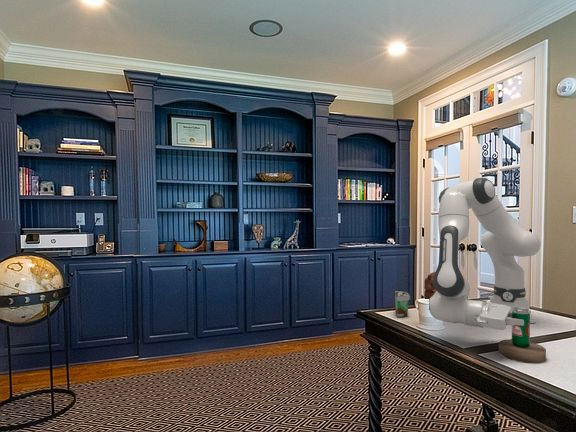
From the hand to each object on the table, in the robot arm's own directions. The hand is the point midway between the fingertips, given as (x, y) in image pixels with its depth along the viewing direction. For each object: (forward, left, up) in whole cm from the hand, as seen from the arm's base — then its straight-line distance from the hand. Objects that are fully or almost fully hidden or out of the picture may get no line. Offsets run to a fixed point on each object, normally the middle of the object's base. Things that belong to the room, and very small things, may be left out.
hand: (524, 320), depth 121 cm
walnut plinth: (0, -1, -12) cm, 12 cm away
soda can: (0, -1, -9) cm, 9 cm away
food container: (-25, -49, -12) cm, 56 cm away
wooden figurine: (-45, -39, -12) cm, 61 cm away
